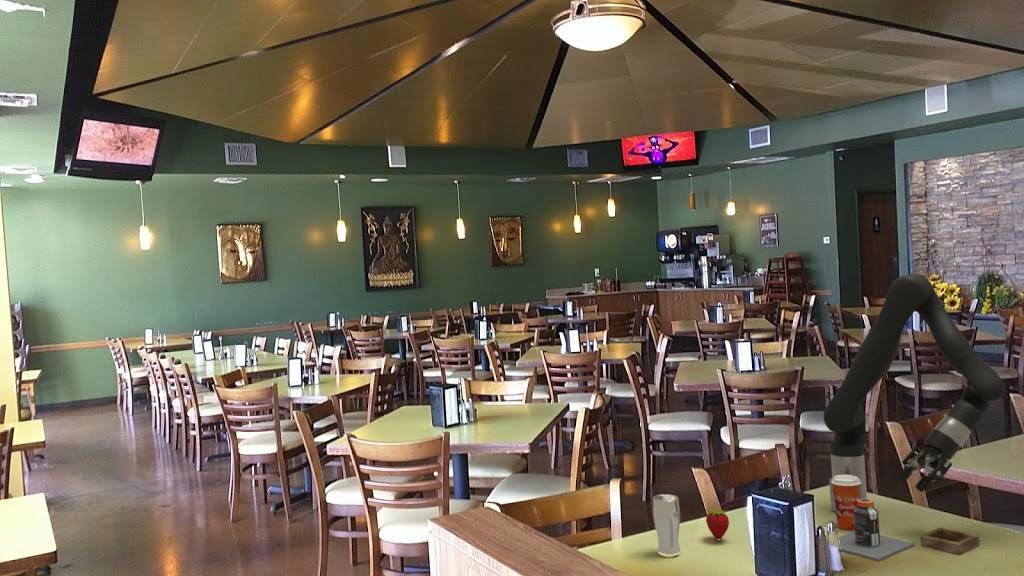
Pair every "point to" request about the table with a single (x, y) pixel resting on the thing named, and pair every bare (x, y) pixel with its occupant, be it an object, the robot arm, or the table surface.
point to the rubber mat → (873, 547)
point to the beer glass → (667, 522)
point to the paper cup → (846, 499)
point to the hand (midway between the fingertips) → (908, 485)
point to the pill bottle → (866, 523)
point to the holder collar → (962, 539)
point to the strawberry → (717, 523)
